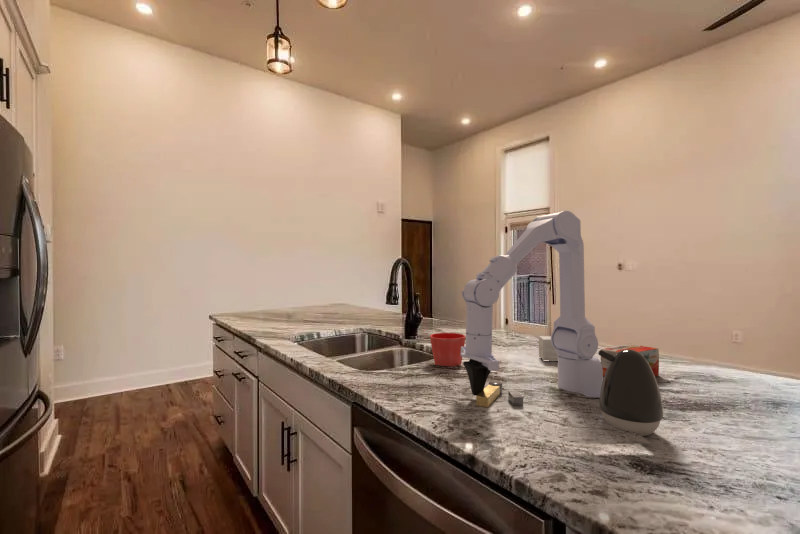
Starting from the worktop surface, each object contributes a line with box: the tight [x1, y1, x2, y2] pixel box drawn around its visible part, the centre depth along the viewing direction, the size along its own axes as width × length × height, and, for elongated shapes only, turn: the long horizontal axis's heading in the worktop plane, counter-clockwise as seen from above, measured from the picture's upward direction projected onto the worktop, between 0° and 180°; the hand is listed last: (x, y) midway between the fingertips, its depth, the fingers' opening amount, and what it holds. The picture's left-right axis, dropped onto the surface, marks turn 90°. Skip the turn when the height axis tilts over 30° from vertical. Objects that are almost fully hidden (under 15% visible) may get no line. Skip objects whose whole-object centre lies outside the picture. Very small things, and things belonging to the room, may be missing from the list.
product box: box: [538, 335, 558, 361], centre depth 125 cm, size 6×6×7 cm
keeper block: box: [507, 390, 524, 407], centre depth 81 cm, size 2×4×2 cm, turn 179°
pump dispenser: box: [598, 349, 664, 437], centre depth 71 cm, size 10×10×15 cm
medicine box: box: [600, 343, 660, 377], centre depth 106 cm, size 15×8×8 cm, turn 119°
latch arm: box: [475, 380, 503, 408], centre depth 84 cm, size 12×3×2 cm, turn 150°
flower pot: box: [429, 332, 466, 367], centre depth 116 cm, size 11×11×10 cm
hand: (477, 394), depth 84 cm, fingers closed, pressing on latch arm
